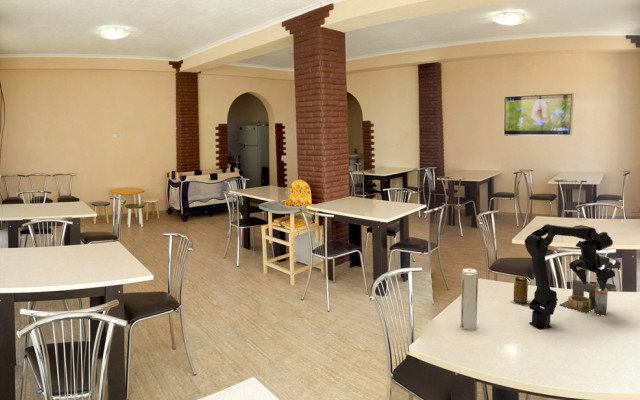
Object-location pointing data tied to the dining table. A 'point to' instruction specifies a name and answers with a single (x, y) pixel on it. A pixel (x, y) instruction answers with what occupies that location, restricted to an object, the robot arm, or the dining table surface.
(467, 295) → the silver cylinder
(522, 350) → the dining table surface
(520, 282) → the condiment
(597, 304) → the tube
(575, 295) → the collar stand
